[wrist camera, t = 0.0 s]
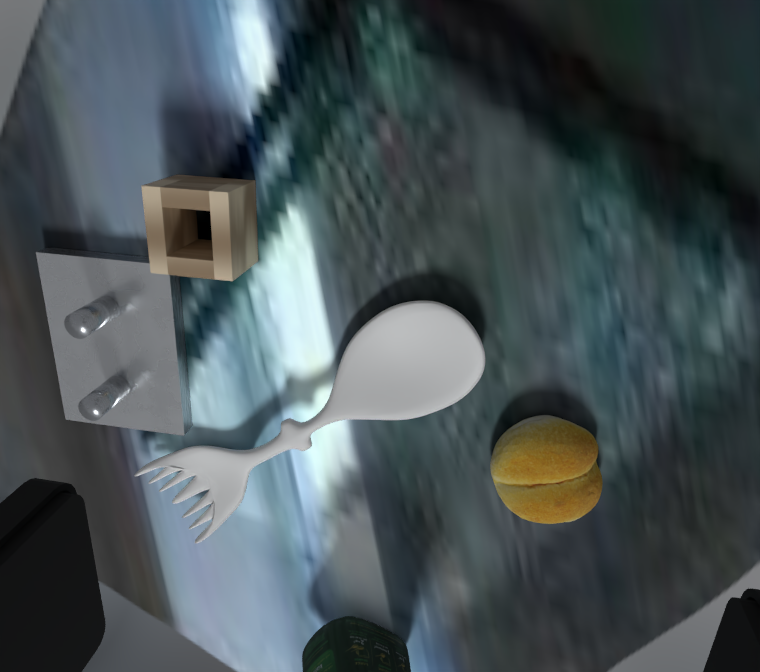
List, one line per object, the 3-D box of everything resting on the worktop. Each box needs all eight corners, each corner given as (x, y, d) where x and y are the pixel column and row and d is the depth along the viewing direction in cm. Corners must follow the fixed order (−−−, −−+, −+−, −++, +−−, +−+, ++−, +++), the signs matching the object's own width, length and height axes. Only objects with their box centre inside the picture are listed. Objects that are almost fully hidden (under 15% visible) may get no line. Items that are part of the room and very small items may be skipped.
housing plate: (48, 247, 50) (-2, 266, 45) (177, 259, 48) (141, 281, 43) (76, 410, 56) (34, 444, 51) (192, 426, 54) (161, 462, 49)
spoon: (147, 453, 57) (127, 476, 54) (441, 268, 45) (437, 283, 42) (211, 525, 59) (194, 550, 56) (507, 365, 47) (508, 385, 44)
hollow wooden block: (176, 174, 46) (141, 185, 41) (255, 180, 45) (228, 192, 40) (183, 254, 48) (150, 272, 44) (258, 261, 47) (232, 281, 43)
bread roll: (591, 404, 47) (598, 433, 43) (603, 501, 50) (611, 535, 47) (481, 416, 49) (479, 444, 46) (500, 508, 52) (499, 541, 49)
